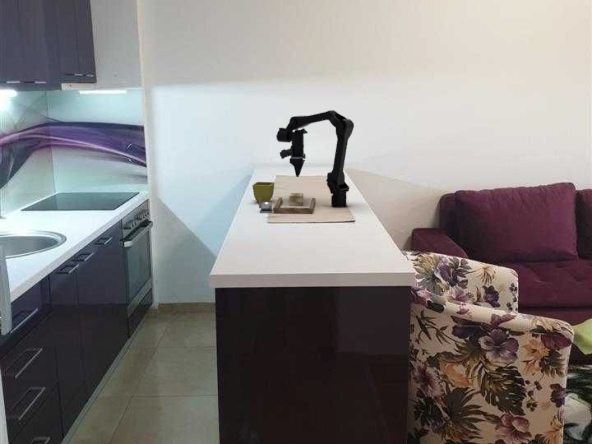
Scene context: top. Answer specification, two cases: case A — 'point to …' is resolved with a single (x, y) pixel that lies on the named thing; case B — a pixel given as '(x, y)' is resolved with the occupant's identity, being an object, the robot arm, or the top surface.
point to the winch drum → (265, 206)
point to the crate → (296, 199)
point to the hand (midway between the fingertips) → (297, 176)
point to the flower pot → (263, 191)
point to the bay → (293, 210)
